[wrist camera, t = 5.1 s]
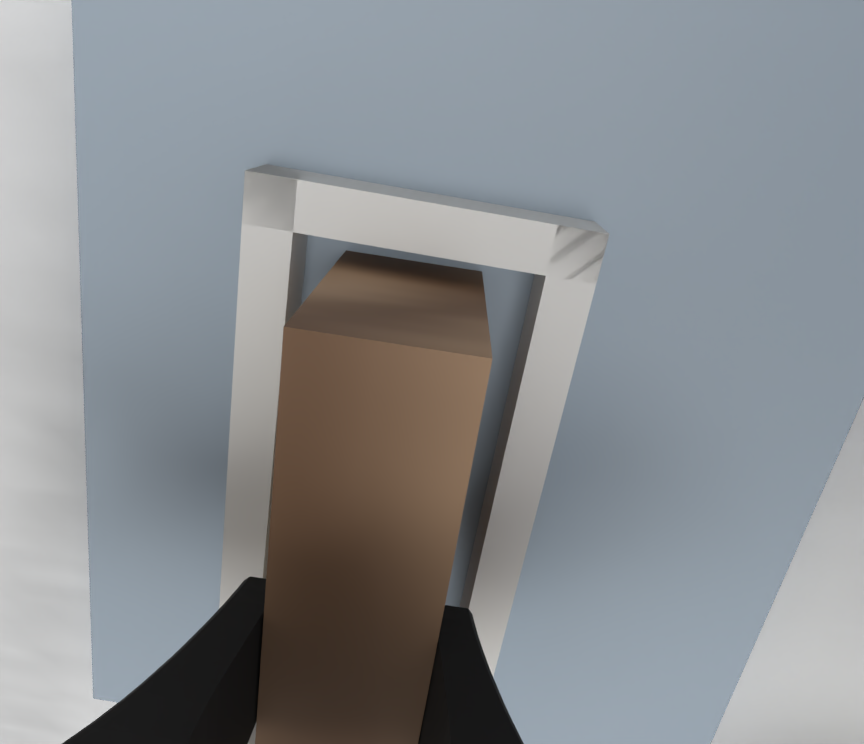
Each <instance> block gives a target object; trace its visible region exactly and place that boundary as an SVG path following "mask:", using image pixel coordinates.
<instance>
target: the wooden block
mask: <svg viewBox="0 0 864 744" xmlns="http://www.w3.org/2000/svg"><path fill="white" fill-rule="evenodd" d="M492 359H493V358H492V350H491V341H490V333H489V325H488V316H487V308H486V300H485V292H484V283H483V275H482V271H476V270H470V269H463V268H457V267H450V266H444V265H437V264H431V263H425V262H418V261H412V260H405V259H399V258H392V257H386V256H379V255H373V254H367V253H360V252H354V251H347V250H346V251H345V252H344V253H343V255H342V256H341V257H340V258H339V260H338V261H337V262H336V263H335V264H334V266H333V267H332V268H331V269H330V271H329V272H328V273H327V274H326V275H325V277H324V278H323V279H322V280H321V282H320V283H319V284H318V285H317V286H316V288H315V289H314V290H313V291H312V293H311V294H310V295H309V296H308V297H307V299H306V300H305V301H304V302H303V304H302V305H301V306H300V307H299V308H298V310H297V311H296V312H295V313H294V314H293V316H292V317H291V318H290V319H289V321H288V322H287V323H286V324H285V325H284V327H283V342H282V356H281V371H280V386H279V400H278V415H277V429H276V444H275V458H274V473H273V488H272V502H271V517H270V531H269V546H268V561H267V575H266V590H265V604H264V619H263V634H262V648H261V663H260V677H259V692H258V707H257V721H256V736H255V744H418V742H419V736H420V731H421V726H422V721H423V716H424V711H425V705H426V700H427V695H428V690H429V685H430V680H431V674H432V669H433V664H434V659H435V654H436V649H437V643H438V638H439V633H440V628H441V623H442V618H443V612H444V607H445V602H446V597H447V592H448V587H449V581H450V576H451V571H452V566H453V561H454V556H455V550H456V545H457V540H458V535H459V530H460V525H461V519H462V514H463V509H464V504H465V499H466V494H467V488H468V483H469V478H470V473H471V468H472V463H473V457H474V452H475V447H476V442H477V437H478V432H479V426H480V421H481V416H482V411H483V406H484V401H485V395H486V390H487V385H488V380H489V375H490V370H491V364H492Z"/></svg>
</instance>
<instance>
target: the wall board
mask: <svg viewBox="0 0 864 744" xmlns="http://www.w3.org/2000/svg"><path fill="white" fill-rule="evenodd" d="M72 28H73V60H74V92H75V125H76V157H77V189H78V221H79V254H80V286H81V318H82V351H83V383H84V415H85V448H86V480H87V512H88V545H89V577H90V609H91V641H92V674H93V698H94V699H100V700H106V701H113V702H120V701H121V700H122V699H123V698H125V697H126V696H127V695H128V694H129V693H131V692H132V691H133V690H134V689H135V688H137V687H138V686H139V685H140V684H141V683H143V682H144V681H145V680H146V679H147V678H148V677H149V676H150V675H152V674H153V673H154V672H155V671H156V670H157V669H158V668H159V667H160V666H162V665H163V664H164V663H165V662H166V661H167V660H168V659H169V658H171V657H172V656H173V655H174V654H175V653H176V652H177V651H178V650H179V649H180V648H181V647H182V646H183V645H184V644H185V643H186V642H187V641H188V640H189V639H190V638H191V637H192V636H193V635H194V634H195V633H196V632H197V631H198V630H199V629H200V628H201V627H202V626H203V625H204V624H205V623H206V622H207V621H208V620H209V619H210V618H211V617H212V616H213V615H214V614H215V613H216V612H217V611H218V609H219V608H220V607H221V606H222V605H223V604H224V603H225V602H226V601H227V600H228V598H229V597H230V596H231V595H232V594H233V593H234V592H235V590H236V589H237V588H238V587H239V586H240V584H241V583H242V582H243V581H244V580H245V579H247V578H248V577H250V576H251V577H258V578H265V579H266V575H267V561H268V546H269V531H270V517H271V502H272V488H273V473H274V458H275V444H276V429H277V415H278V400H279V386H280V371H281V356H282V342H283V327H284V325H285V324H286V323H287V322H288V321H289V319H290V318H291V317H292V316H293V314H294V313H295V312H296V311H297V310H298V308H299V307H300V306H301V305H302V304H303V302H304V301H305V300H306V299H307V297H308V296H309V295H310V294H311V293H312V291H313V290H314V289H315V288H316V286H317V285H318V284H319V283H320V282H321V280H322V279H323V278H324V277H325V275H326V274H327V273H328V272H329V271H330V269H331V268H332V267H333V266H334V264H335V263H336V262H337V261H338V260H339V258H340V257H341V256H342V255H343V253H344V252H345V251H346V250H347V251H354V252H360V253H367V254H373V255H379V256H386V257H392V258H399V259H405V260H412V261H418V262H425V263H431V264H437V265H444V266H450V267H457V268H463V269H470V270H476V271H482V275H483V283H484V292H485V300H486V308H487V316H488V325H489V333H490V341H491V350H492V358H493V359H492V364H491V370H490V375H489V380H488V385H487V390H486V395H485V401H484V406H483V411H482V416H481V421H480V426H479V432H478V437H477V442H476V447H475V452H474V457H473V463H472V468H471V473H470V478H469V483H468V488H467V494H466V499H465V504H464V509H463V514H462V519H461V525H460V530H459V535H458V540H457V545H456V550H455V556H454V561H453V566H452V571H451V576H450V581H449V587H448V592H447V597H446V602H445V605H449V606H456V607H463V608H468V609H469V610H470V611H471V613H472V614H473V619H474V623H475V626H476V630H477V633H478V637H479V640H480V643H481V646H482V649H483V652H484V654H485V657H486V660H487V663H488V665H489V668H490V671H491V673H492V676H493V678H494V680H495V683H496V685H497V688H498V690H499V692H500V695H501V697H502V699H503V702H504V704H505V706H506V708H507V710H508V713H509V715H510V717H511V719H512V721H513V723H514V725H515V727H516V729H517V731H518V733H519V735H520V737H521V739H522V741H523V743H524V744H711V742H712V739H713V737H714V735H715V733H716V730H717V728H718V726H719V724H720V721H721V719H722V717H723V714H724V712H725V710H726V708H727V705H728V703H729V701H730V699H731V696H732V694H733V692H734V690H735V687H736V685H737V683H738V681H739V678H740V676H741V674H742V672H743V669H744V667H745V665H746V663H747V660H748V658H749V656H750V653H751V651H752V649H753V647H754V644H755V642H756V640H757V638H758V635H759V633H760V631H761V629H762V626H763V624H764V622H765V620H766V617H767V615H768V613H769V611H770V608H771V606H772V604H773V602H774V599H775V597H776V595H777V592H778V590H779V588H780V586H781V583H782V581H783V579H784V577H785V574H786V572H787V570H788V568H789V565H790V563H791V561H792V559H793V556H794V554H795V552H796V550H797V547H798V545H799V543H800V541H801V538H802V536H803V534H804V531H805V529H806V527H807V525H808V522H809V520H810V518H811V516H812V513H813V511H814V509H815V507H816V504H817V502H818V500H819V498H820V495H821V493H822V491H823V489H824V486H825V484H826V482H827V479H828V477H829V475H830V473H831V470H832V468H833V466H834V464H835V461H836V459H837V457H838V455H839V452H840V450H841V448H842V446H843V443H844V441H845V439H846V437H847V434H848V432H849V430H850V428H851V425H852V423H853V421H854V418H855V416H856V414H857V412H858V409H859V407H860V405H861V403H862V400H863V398H864V0H72ZM255 736H256V724H255V726H254V729H253V731H252V734H251V736H250V739H249V742H248V744H255Z"/></svg>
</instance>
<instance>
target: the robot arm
mask: <svg viewBox="0 0 864 744" xmlns="http://www.w3.org/2000/svg"><path fill="white" fill-rule="evenodd" d="M265 590H266V579H265V578H258V577H251V576H250V577H248V578H247V579H245V580H244V581H243V582H242V583H241V584H240V586H239V587H238V588H237V589H236V590H235V592H234V593H233V594H232V595H231V596H230V597H229V598H228V600H227V601H226V602H225V603H224V604H223V605H222V606H221V607H220V608H219V609H218V611H217V612H216V613H215V614H214V615H213V616H212V617H211V618H210V619H209V620H208V621H207V622H206V623H205V624H204V625H203V626H202V627H201V628H200V629H199V630H198V631H197V632H196V633H195V634H194V635H193V636H192V637H191V638H190V639H189V640H188V641H187V642H186V643H185V644H184V645H183V646H182V647H181V648H180V649H179V650H178V651H177V652H176V653H175V654H174V655H173V656H172V657H171V658H169V659H168V660H167V661H166V662H165V663H164V664H163V665H162V666H160V667H159V668H158V669H157V670H156V671H155V672H154V673H153V674H152V675H150V676H149V677H148V678H147V679H146V680H145V681H144V682H143V683H141V684H140V685H139V686H138V687H137V688H135V689H134V690H133V691H132V692H131V693H129V694H128V695H127V696H126V697H125V698H123V699H122V700H121V701H120V702H118V703H117V704H116V705H115V706H113V707H112V708H111V709H109V710H108V711H107V712H105V713H104V714H103V715H101V716H100V717H99V718H98V719H96V720H95V721H94V722H92V723H91V724H89V725H88V726H87V727H85V728H84V729H82V730H81V731H79V732H78V733H77V734H75V735H74V736H72V737H71V738H69V739H68V740H67V741H65V742H64V743H62V744H248V742H249V739H250V736H251V734H252V731H253V729H254V726H255V724H256V721H257V707H258V692H259V677H260V663H261V648H262V634H263V619H264V604H265ZM418 744H524V743H523V741H522V739H521V737H520V735H519V733H518V731H517V729H516V727H515V725H514V723H513V721H512V719H511V717H510V715H509V713H508V710H507V708H506V706H505V704H504V702H503V699H502V697H501V695H500V692H499V690H498V688H497V685H496V683H495V680H494V678H493V676H492V673H491V671H490V668H489V665H488V663H487V660H486V657H485V654H484V652H483V649H482V646H481V643H480V640H479V637H478V633H477V630H476V626H475V623H474V619H473V614H472V613H471V611H470V610H469V609H468V608H463V607H456V606H449V605H445V607H444V612H443V618H442V623H441V628H440V633H439V638H438V643H437V649H436V654H435V659H434V664H433V669H432V674H431V680H430V685H429V690H428V695H427V700H426V705H425V711H424V716H423V721H422V726H421V731H420V736H419V742H418Z"/></svg>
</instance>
